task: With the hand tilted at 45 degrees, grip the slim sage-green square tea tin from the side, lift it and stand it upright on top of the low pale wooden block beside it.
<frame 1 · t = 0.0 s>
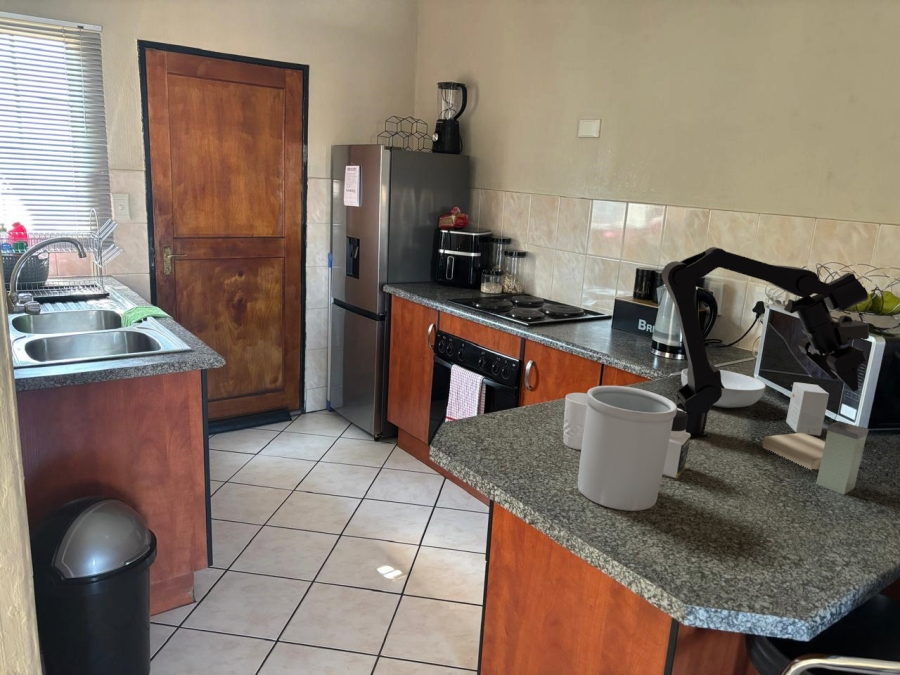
hand: (845, 384, 143), 15 cm above the countertop, tool tilted 35°, fingers open, 9 cm apart
medicine bottle: (662, 468, 128), on the countertop
utensil holder: (617, 493, 115), on the countertop
wooden block: (805, 457, 140), on the countertop
serving bowl: (718, 403, 174), on the countertop
tea tin: (834, 486, 125), on the countertop
small box: (802, 430, 158), on the countertop
white cup: (578, 445, 136), on the countertop
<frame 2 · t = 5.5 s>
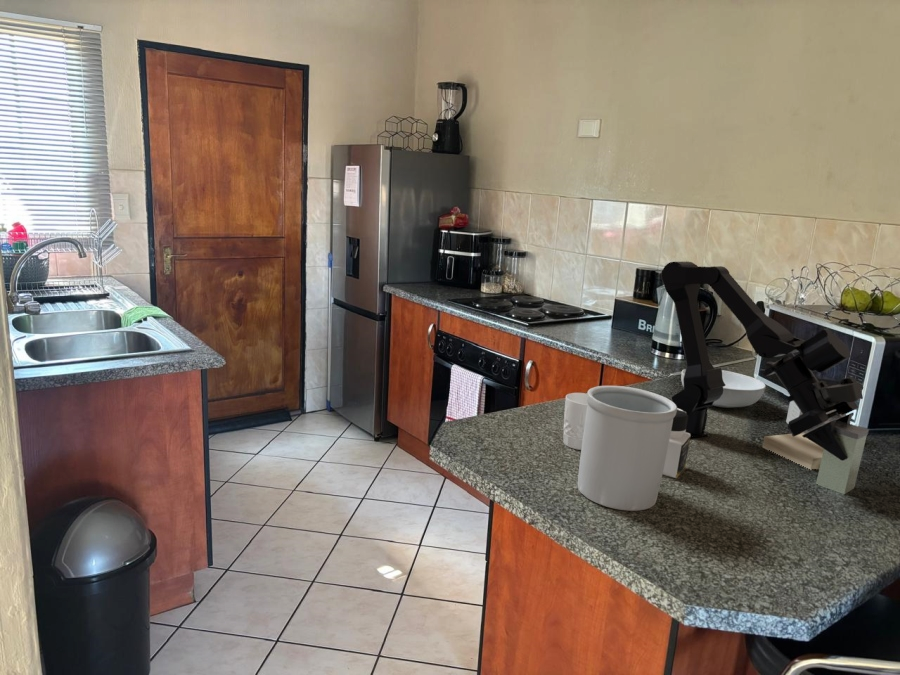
hand: (850, 456, 123), 7 cm above the countertop, tool tilted 45°, fingers closed on tea tin, 5 cm apart
tea tin: (835, 486, 125), on the countertop, touching gripper
everything else where it was.
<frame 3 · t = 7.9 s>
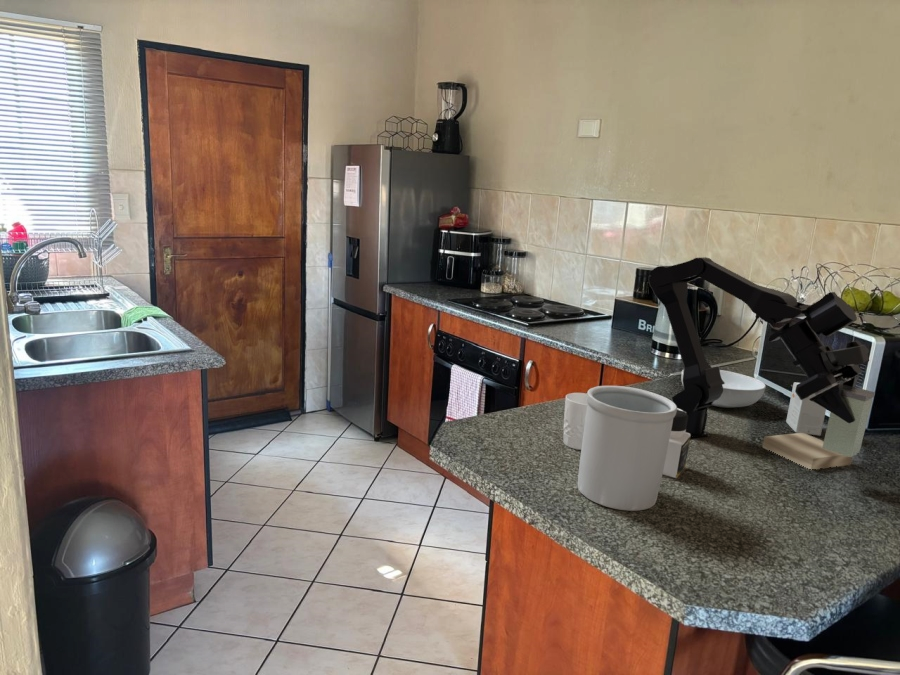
hand: (856, 419, 123), 13 cm above the countertop, tool tilted 45°, fingers closed on tea tin, 5 cm apart
tea tin: (840, 449, 125), point 7 cm above the countertop, touching gripper
everything else where it was.
when the fingers open (10 cm above the countertop, at t = 10.7 s): tea tin drops 1 cm, resting on wooden block.
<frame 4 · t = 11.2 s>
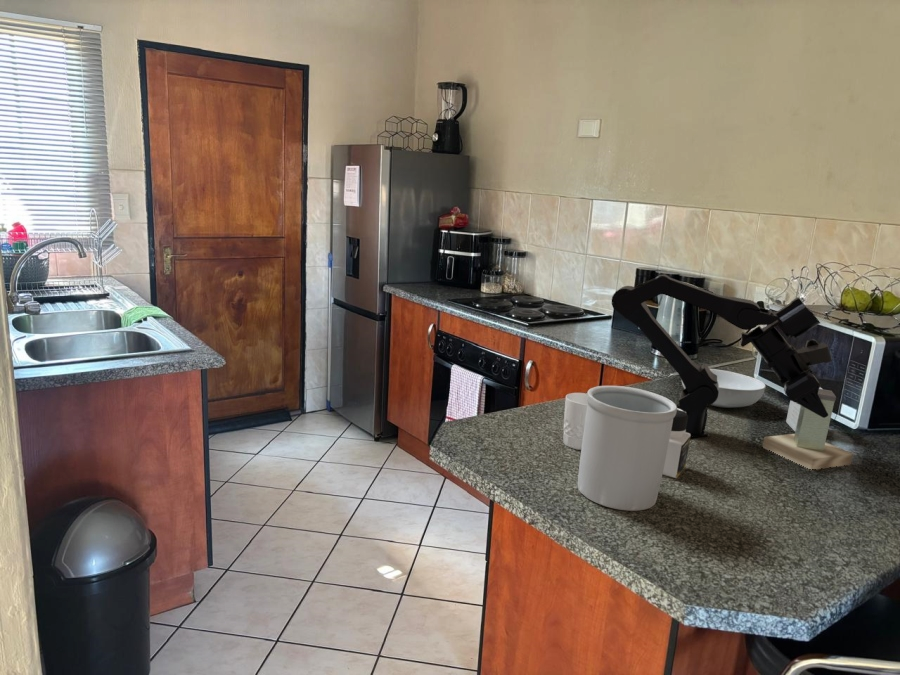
hand: (823, 410, 137), 11 cm above the countertop, tool tilted 45°, fingers open, 9 cm apart
wooden block: (805, 458, 140), on the countertop, touching tea tin
tea tin: (808, 445, 140), point 2 cm above the countertop, touching wooden block
everything else where it was.
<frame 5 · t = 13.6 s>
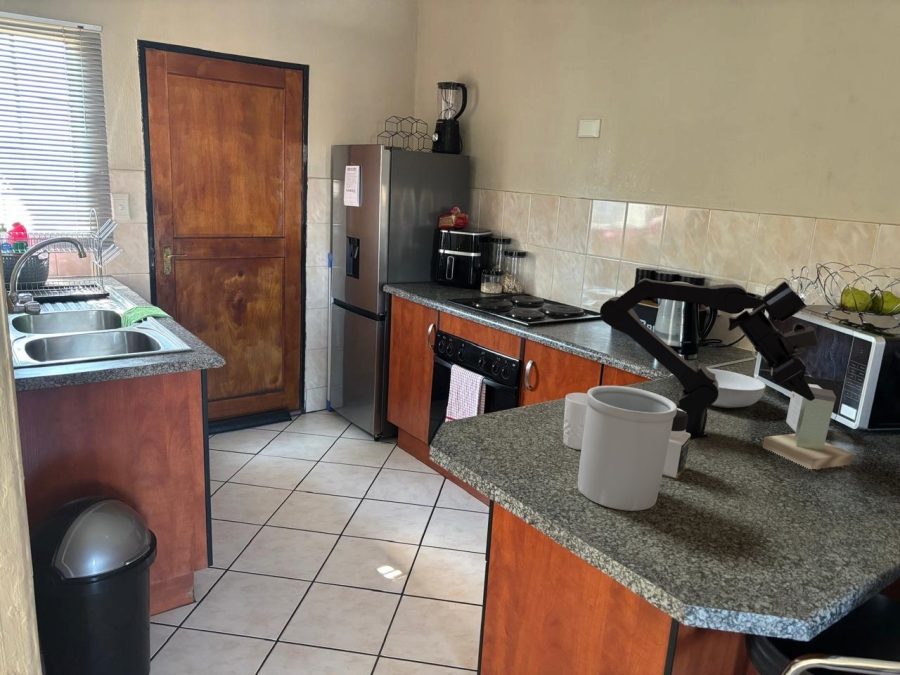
hand: (810, 393, 138), 14 cm above the countertop, tool tilted 45°, fingers open, 9 cm apart
nothing on the countertop moved.
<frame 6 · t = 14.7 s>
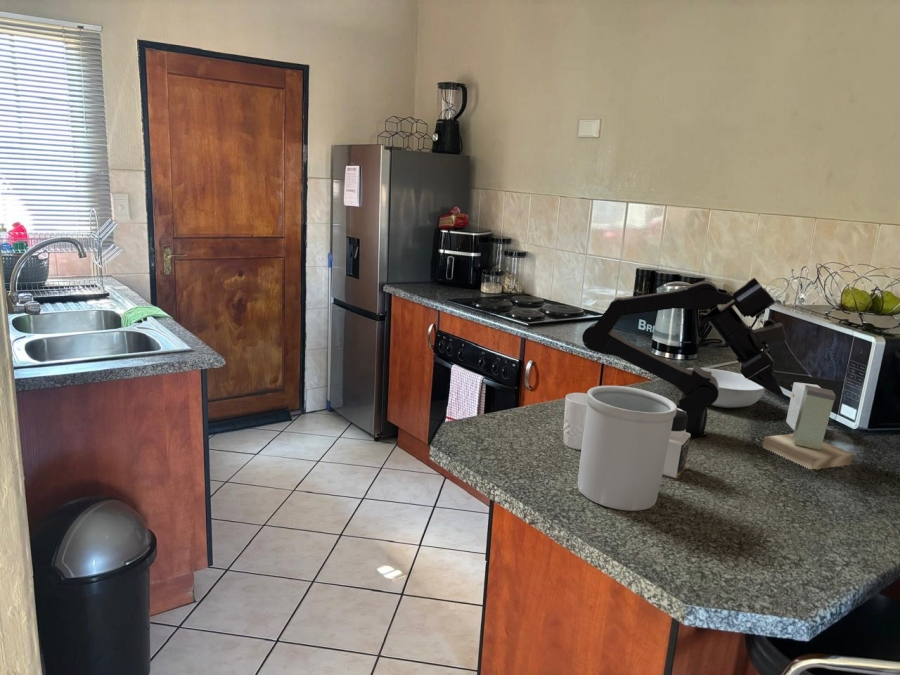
hand: (779, 388, 140), 14 cm above the countertop, tool tilted 45°, fingers open, 9 cm apart
wooden block: (805, 458, 140), on the countertop
tea tin: (805, 443, 140), point 3 cm above the countertop
everything else where it was.
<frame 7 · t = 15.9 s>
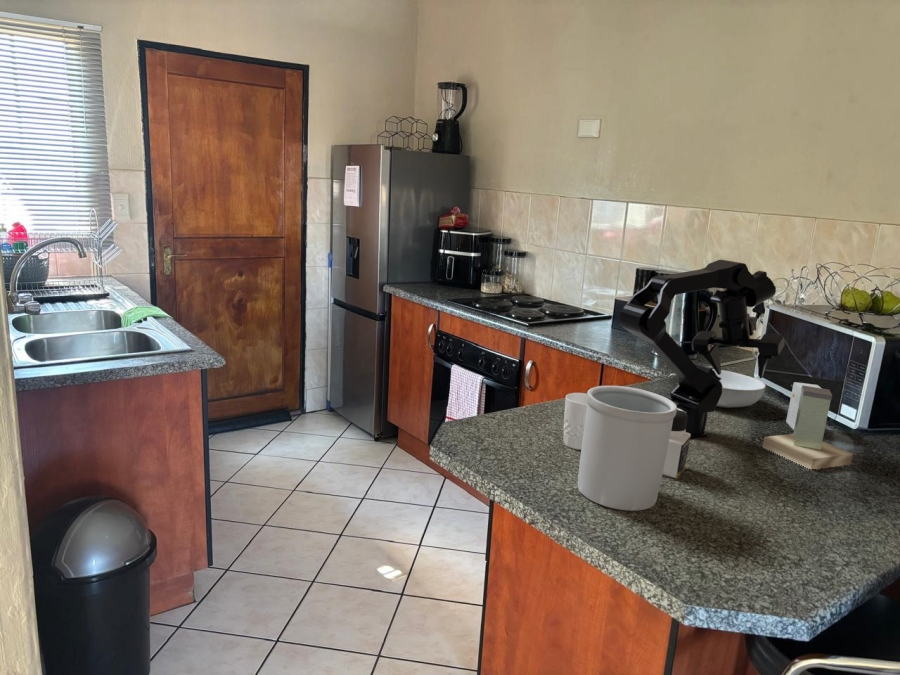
hand: (740, 375, 152), 13 cm above the countertop, tool tilted 20°, fingers open, 9 cm apart
wooden block: (805, 458, 140), on the countertop, touching tea tin
tea tin: (806, 444, 140), point 2 cm above the countertop, touching wooden block
everything else where it was.
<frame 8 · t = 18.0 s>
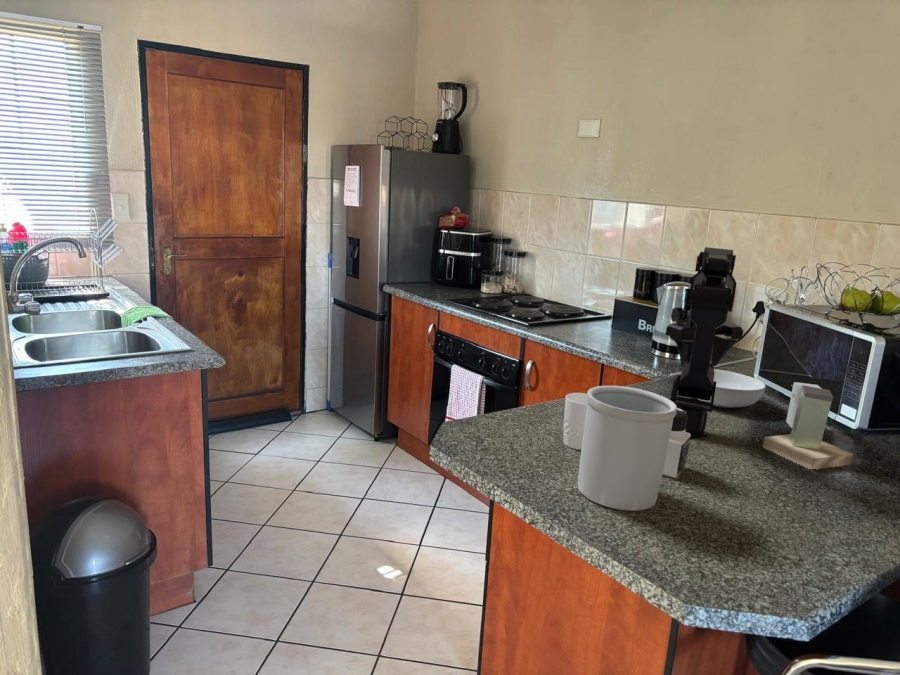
hand: (698, 366, 156), 13 cm above the countertop, tool pointing down, fingers open, 9 cm apart
wooden block: (805, 458, 140), on the countertop
tea tin: (804, 443, 140), point 3 cm above the countertop
everything else where it was.
at the end: tea tin inside the target area on the wooden block (0.7 cm from its centre), point 3.2 cm above the wooden block's base; tea tin tilted 2°; the gripper is holding nothing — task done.
